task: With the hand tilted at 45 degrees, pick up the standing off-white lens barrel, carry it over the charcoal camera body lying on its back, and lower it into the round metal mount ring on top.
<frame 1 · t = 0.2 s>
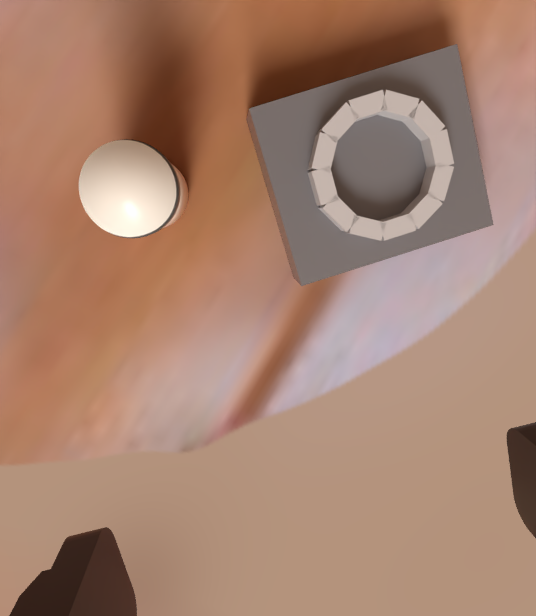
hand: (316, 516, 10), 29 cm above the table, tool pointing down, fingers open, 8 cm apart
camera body: (360, 173, 37), on the table
lens: (153, 193, 36), on the table
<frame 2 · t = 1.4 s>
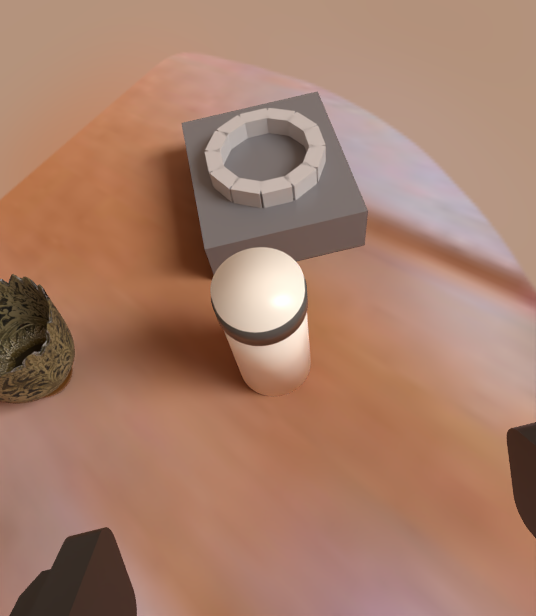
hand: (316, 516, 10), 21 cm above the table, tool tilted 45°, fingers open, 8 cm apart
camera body: (271, 198, 43), on the table
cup: (53, 378, 36), on the table
lens: (274, 362, 35), on the table
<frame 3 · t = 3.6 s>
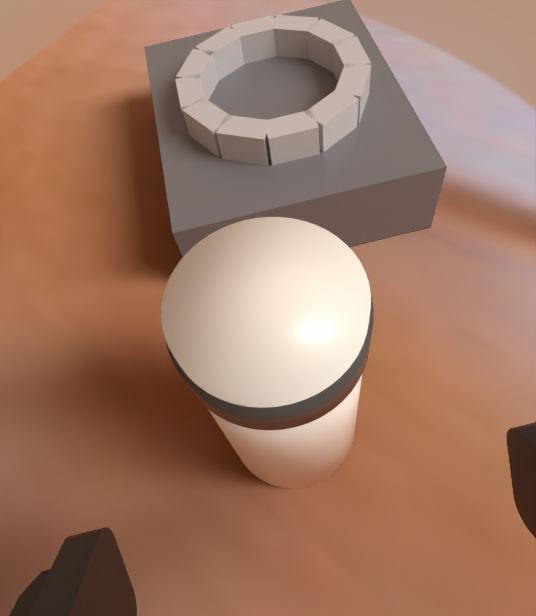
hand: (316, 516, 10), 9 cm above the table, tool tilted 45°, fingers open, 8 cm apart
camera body: (281, 159, 28), on the table
lens: (292, 424, 20), on the table
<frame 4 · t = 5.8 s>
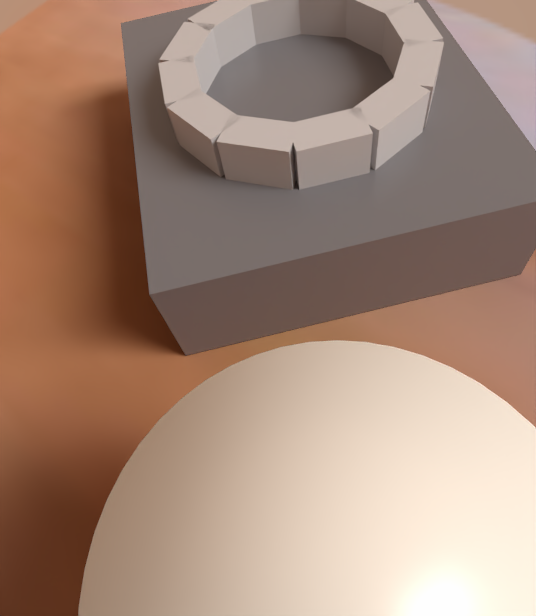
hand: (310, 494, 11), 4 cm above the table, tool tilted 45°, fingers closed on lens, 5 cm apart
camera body: (304, 174, 21), on the table
lens: (335, 594, 13), on the table, touching gripper
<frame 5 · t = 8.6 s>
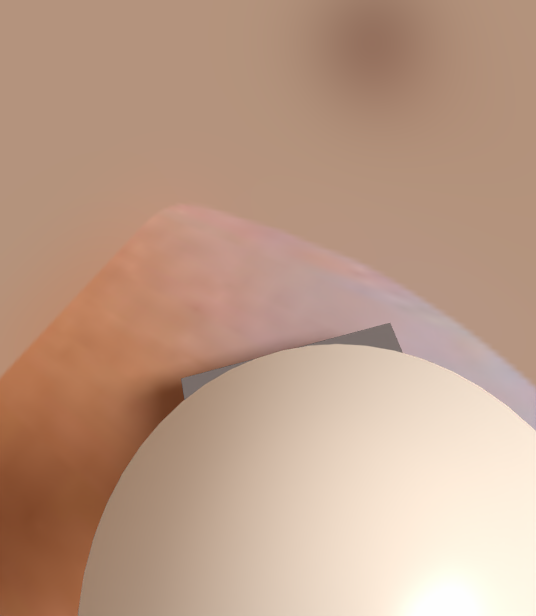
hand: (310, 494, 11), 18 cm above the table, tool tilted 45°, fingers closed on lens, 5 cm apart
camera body: (323, 492, 27), on the table
lens: (335, 596, 13), point 14 cm above the table, touching gripper
when the fingers open (9 cm above the table, at t = 11.5 s): lens stays where it is, resting on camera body.
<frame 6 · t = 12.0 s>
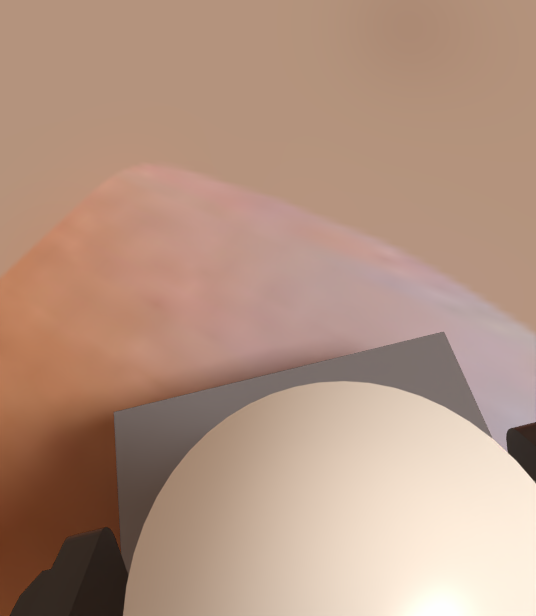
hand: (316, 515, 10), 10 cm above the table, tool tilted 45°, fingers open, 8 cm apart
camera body: (333, 596, 17), on the table
lens: (338, 599, 14), point 4 cm above the table, touching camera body
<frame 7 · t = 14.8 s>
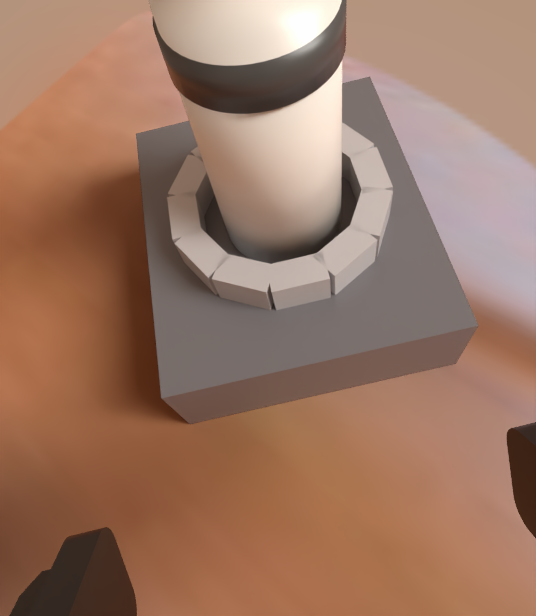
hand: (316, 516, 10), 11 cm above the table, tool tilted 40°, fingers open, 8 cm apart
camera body: (288, 263, 25), on the table
lens: (283, 216, 22), point 4 cm above the table, touching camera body
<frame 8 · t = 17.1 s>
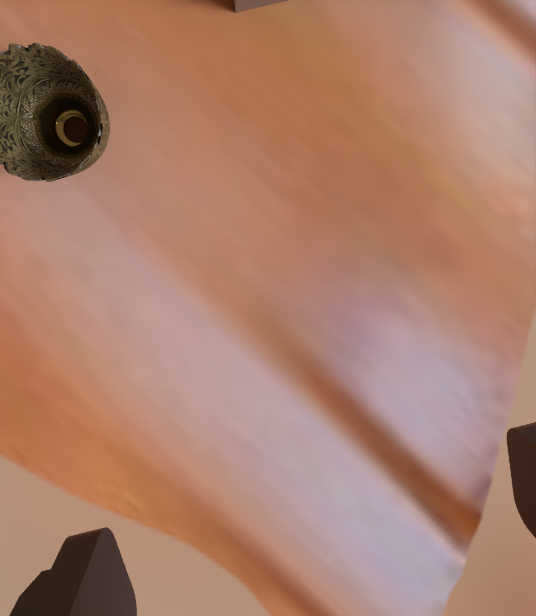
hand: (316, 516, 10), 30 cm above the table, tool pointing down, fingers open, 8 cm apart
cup: (77, 129, 36), on the table
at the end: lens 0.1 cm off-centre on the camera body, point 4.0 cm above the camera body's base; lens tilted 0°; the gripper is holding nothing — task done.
